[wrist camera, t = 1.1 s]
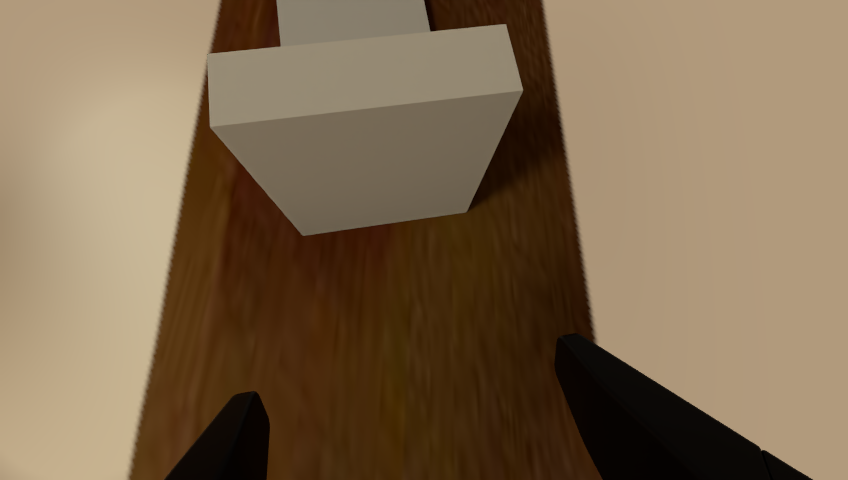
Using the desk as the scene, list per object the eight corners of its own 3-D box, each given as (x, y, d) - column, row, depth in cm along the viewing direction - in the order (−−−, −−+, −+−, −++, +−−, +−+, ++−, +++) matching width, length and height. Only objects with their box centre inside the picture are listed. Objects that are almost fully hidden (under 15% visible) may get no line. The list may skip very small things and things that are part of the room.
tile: (466, 212, 23) (523, 90, 12) (302, 235, 22) (209, 126, 11) (457, 170, 23) (504, 20, 13) (298, 191, 22) (207, 49, 12)
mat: (447, 127, 24) (448, 121, 23) (292, 146, 23) (289, 141, 23) (420, -9, 27) (420, -17, 26) (279, 4, 26) (276, -4, 25)
